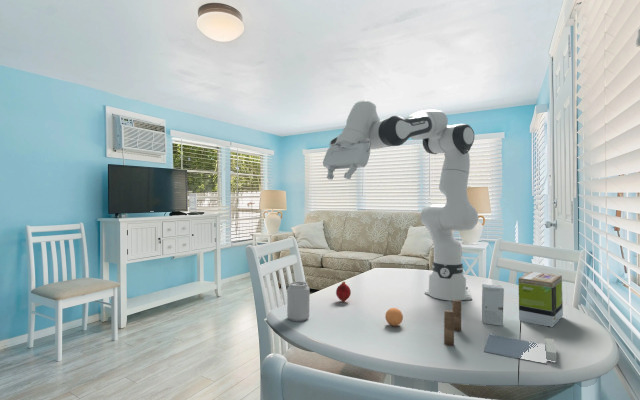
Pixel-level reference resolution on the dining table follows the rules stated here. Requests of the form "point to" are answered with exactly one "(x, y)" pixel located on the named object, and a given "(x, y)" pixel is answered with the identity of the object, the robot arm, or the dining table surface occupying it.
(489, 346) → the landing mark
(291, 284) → the can
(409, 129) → the robot arm
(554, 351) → the stopper wall
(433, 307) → the dining table surface
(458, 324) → the post
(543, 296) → the tea box
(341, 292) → the onion
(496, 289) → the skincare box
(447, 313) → the post
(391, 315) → the ball
